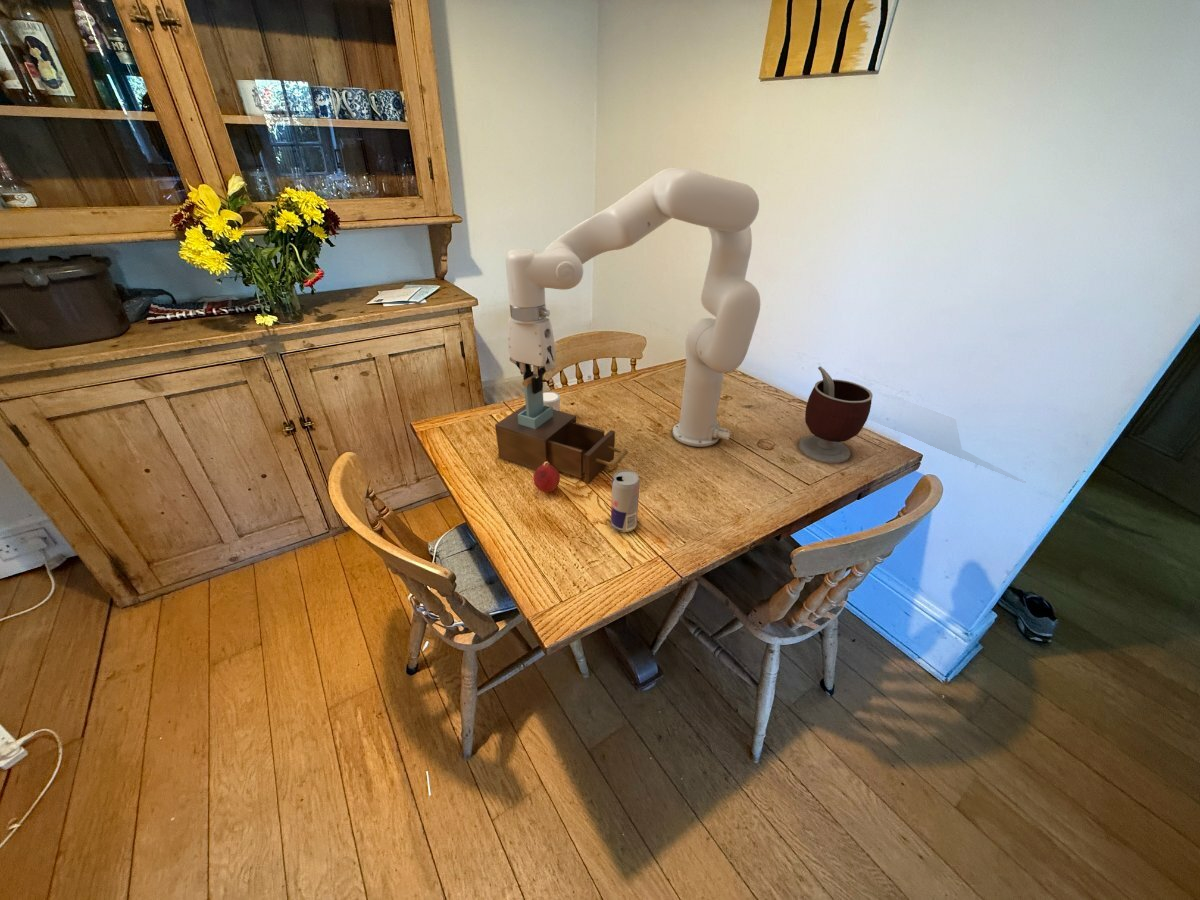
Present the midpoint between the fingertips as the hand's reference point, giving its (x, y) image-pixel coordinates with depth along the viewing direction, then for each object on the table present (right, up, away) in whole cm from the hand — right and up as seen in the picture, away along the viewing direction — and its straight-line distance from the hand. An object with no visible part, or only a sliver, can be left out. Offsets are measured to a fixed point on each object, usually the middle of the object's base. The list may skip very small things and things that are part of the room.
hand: (533, 390), depth 108 cm
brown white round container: (+1, -5, +25) cm, 26 cm away
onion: (+4, -24, -4) cm, 24 cm away
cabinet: (0, -15, +10) cm, 18 cm away
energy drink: (+21, -30, -13) cm, 38 cm away
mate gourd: (+74, -14, +13) cm, 76 cm away
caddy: (0, -7, +4) cm, 8 cm away
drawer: (+12, -18, +3) cm, 22 cm away
